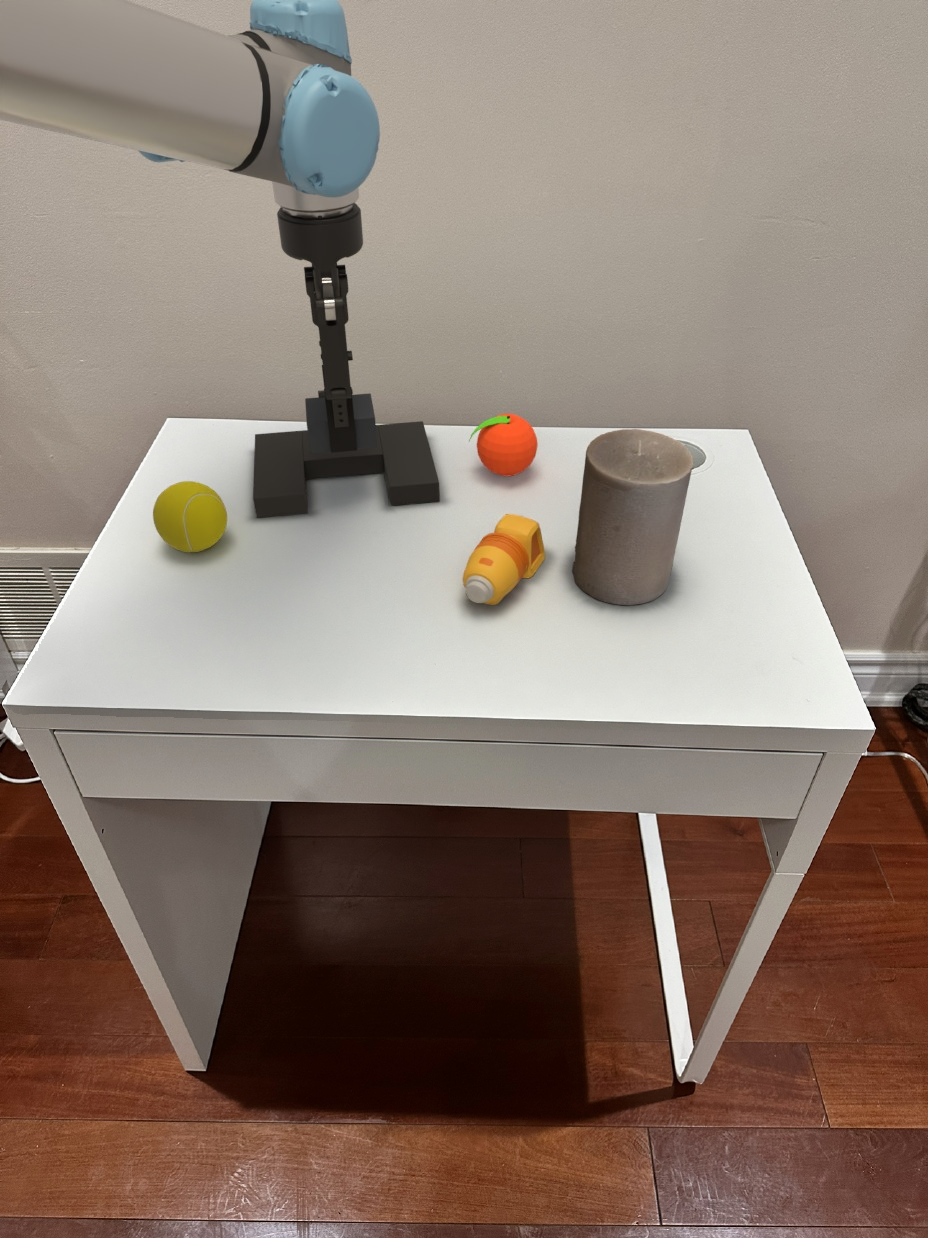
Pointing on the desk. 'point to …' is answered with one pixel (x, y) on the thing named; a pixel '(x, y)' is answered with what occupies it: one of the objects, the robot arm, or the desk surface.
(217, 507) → the tennis ball
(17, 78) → the robot arm
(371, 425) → the dark grey rectangular block
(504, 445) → the clementine
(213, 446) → the desk surface
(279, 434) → the black u-shaped block
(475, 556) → the yellow toy drill
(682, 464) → the pillar candle
